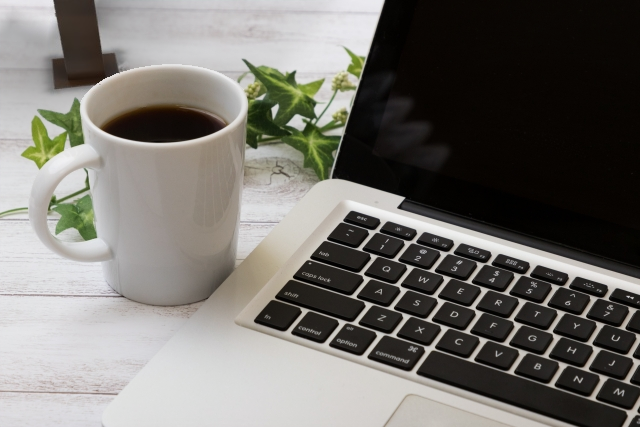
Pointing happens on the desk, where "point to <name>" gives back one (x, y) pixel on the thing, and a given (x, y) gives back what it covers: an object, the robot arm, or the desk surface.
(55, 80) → the brown post on base
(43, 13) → the desk surface
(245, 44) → the desk surface
